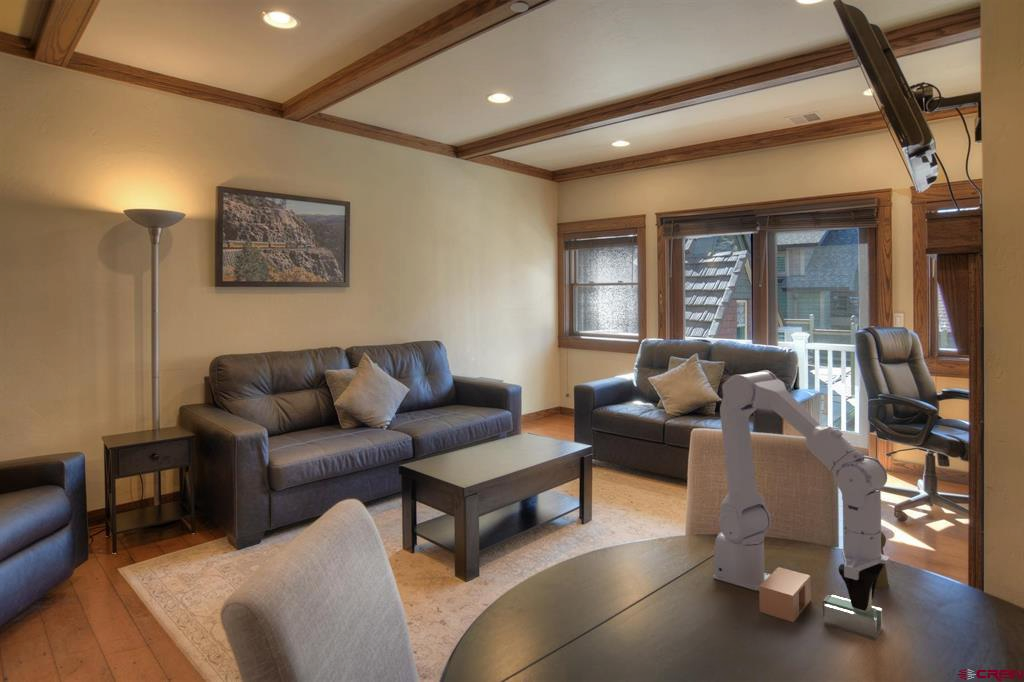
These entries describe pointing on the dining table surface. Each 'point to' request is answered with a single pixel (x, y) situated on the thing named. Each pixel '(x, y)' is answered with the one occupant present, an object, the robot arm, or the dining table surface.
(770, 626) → the dining table surface
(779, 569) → the socket block
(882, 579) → the cork
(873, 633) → the grey u-channel
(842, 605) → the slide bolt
